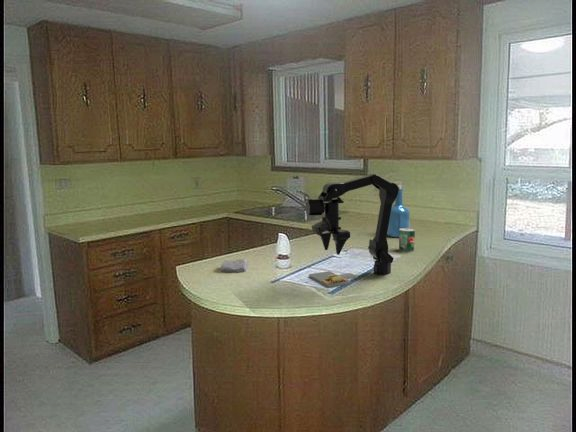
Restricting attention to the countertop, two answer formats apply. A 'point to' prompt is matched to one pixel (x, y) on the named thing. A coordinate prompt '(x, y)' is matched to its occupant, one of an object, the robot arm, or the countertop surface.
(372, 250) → the robot arm
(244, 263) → the stone block
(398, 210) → the wine bottle
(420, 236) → the countertop surface
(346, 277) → the tab
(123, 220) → the countertop surface
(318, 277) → the rail plate
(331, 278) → the brass clip
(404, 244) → the canned tomato
